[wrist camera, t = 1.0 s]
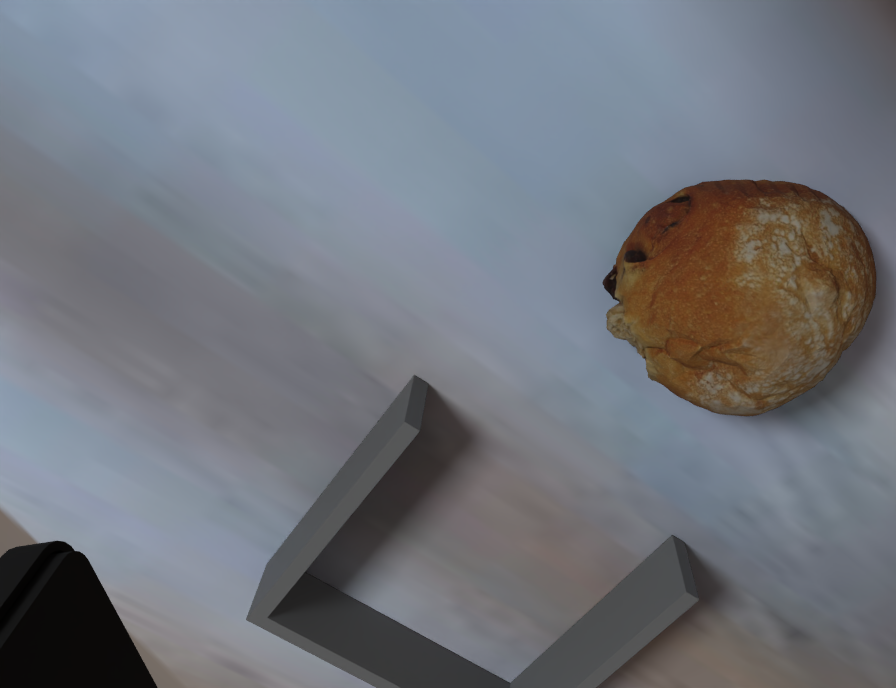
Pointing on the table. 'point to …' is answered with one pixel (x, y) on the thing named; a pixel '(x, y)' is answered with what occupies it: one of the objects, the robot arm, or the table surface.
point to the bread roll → (742, 292)
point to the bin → (408, 653)
